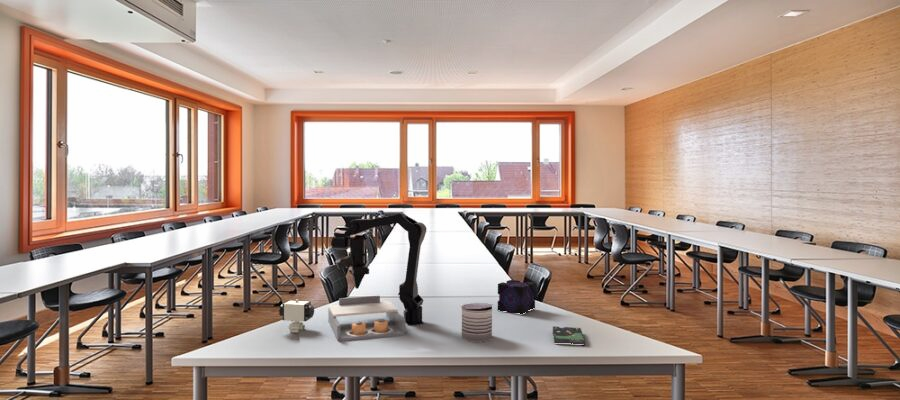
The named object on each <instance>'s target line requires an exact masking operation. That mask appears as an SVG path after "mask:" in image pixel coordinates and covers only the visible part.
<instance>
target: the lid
mask: <svg viewBox="0 0 900 400" xmlns="http://www.w3.org/2000/svg"><path fill="white" fill-rule="evenodd" d="M328 308H329V309H330V311H331V313H332V315H333V317H336V318H337V317H338V318H339V317H347V316H358V315H359V316H360V315H361V316H362V315H372V314H373V315H374V314H383V313H385V314H386V312H398V313H399V309H398V307H396V306H395V305H394V304H393V303H392V302H391V301H390V300H386V301H381V296H380V295H371V296H370V295H369V296H367V295H366V296H355V297H353V296H352V297H339V298H338V304H332V305H330V304H329V305H328Z"/></svg>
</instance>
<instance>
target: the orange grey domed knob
mask: <svg viewBox="0 0 900 400" xmlns="http://www.w3.org/2000/svg"><path fill="white" fill-rule="evenodd" d="M366 323H367V322H363V321H360V320H359V321H358V320H357V321H355V322H353V323H351V324H352V335H364V334H366Z"/></svg>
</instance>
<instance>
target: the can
mask: <svg viewBox="0 0 900 400" xmlns="http://www.w3.org/2000/svg"><path fill="white" fill-rule="evenodd" d="M493 306H494V304H492V303H488V302H472V303H465V304H462V305H461V306H460V308H461V340H464V341H466V340H467V341H466V342H470V341H473V342H472V343H483V342H482V341H487V340H489V341H491V340H490V339H493V337H492V336H493ZM487 342H488V341H487Z"/></svg>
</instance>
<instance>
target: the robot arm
mask: <svg viewBox="0 0 900 400" xmlns="http://www.w3.org/2000/svg"><path fill="white" fill-rule="evenodd" d="M394 224H395V225H396V224H398V225H399V226H400V227H402V229H403V230H404V231H406V232H407V238H408V244H409V249H408V255H407V256H408V257H407V265H406V271H405V279H404V281H403V283H401V284H399V287H398V289H399V290H398V294H397V295H398V296H399V300H400V302H401V303H402V305H403V307H404V310H403V318H404V319H405V325H408V326H410V325H418V324H419V325H421V324H424V321H423V306H422V305H423V303H424V299H423V297H421V295H419V287H418V283H417V282H418V281H417V278H418V271H419V270H418V269H419V262H420V255H421V247H422V244H423V242H424V240H425V236H426V233H427V226H426V225H425V224H424V223H423V222H421V221H420V222H418V221H417V220H416V219H414V218H412V217H410V216H408V215H407V214H405V213H404V212H397V213H396V214H391V215H385V216H380V217H375V218H357V219H352V220H350V222H349V223H348V227H347V228H346V230H345V231H344V232H337V231H336V232H334V233H333V236H332V239H331V241H330V245H331V249H333V250H346V251H347V250H348V249H349V252H348V256H344V257H341V258H339V259H337V260H335V264H336V267H337V269H338V270H342V269H344V268H346V269H349V268H350V269H349V270H348V272H349V273H350V274H351V276H352V279H353V284H354V288H355V290H357V289H359V287H360V286H361V284H362V281H363V279H364V277H365V275H369V274H370V268H369V267H368V266H366V262H365V256H366V252H365V241H367V240H370V236H369V235H368V234H367V233H364V232H367V231H370V230H372V229H374V228H380V227H384V226H389V225H394Z"/></svg>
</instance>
